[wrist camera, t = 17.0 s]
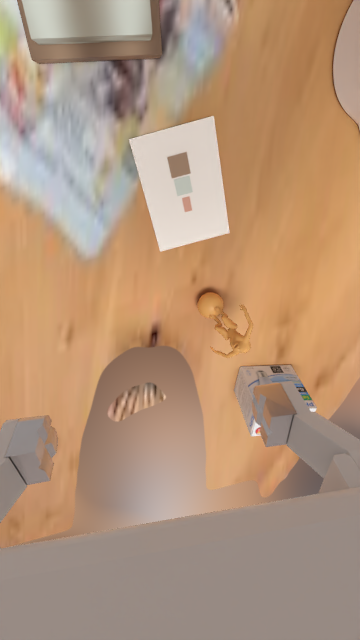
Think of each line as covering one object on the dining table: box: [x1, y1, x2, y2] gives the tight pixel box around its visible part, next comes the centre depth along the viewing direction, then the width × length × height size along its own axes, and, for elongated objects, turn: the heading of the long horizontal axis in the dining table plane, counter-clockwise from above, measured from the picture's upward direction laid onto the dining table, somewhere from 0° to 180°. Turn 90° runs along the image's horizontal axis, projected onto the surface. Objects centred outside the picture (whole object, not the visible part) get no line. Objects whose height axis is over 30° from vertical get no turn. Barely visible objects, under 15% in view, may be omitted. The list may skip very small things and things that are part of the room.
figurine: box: [198, 292, 253, 358], centre depth 45 cm, size 8×6×12 cm
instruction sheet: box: [129, 116, 230, 252], centre depth 39 cm, size 10×14×1 cm
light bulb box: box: [234, 365, 317, 436], centre depth 57 cm, size 11×7×11 cm, turn 87°
